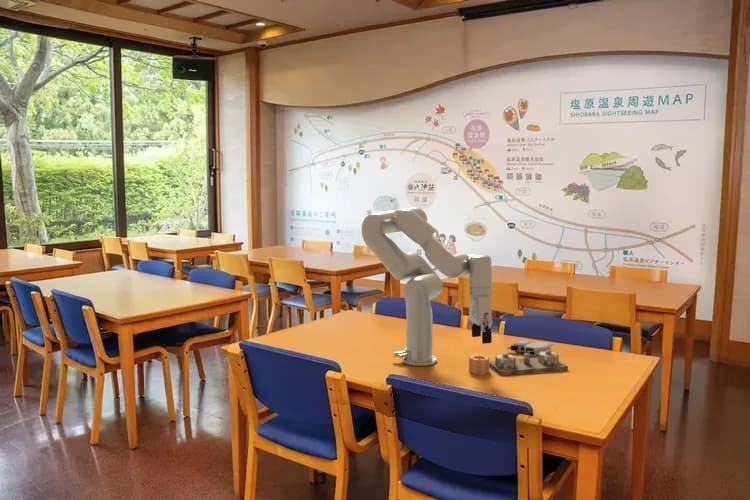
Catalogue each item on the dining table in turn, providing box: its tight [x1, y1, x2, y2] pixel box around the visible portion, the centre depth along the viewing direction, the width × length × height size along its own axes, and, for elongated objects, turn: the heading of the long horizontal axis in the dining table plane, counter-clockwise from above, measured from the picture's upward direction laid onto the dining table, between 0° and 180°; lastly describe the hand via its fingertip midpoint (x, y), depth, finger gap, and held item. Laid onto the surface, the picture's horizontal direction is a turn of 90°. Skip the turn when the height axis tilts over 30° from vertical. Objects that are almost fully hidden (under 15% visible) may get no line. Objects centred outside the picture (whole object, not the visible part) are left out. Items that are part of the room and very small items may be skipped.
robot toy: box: [506, 340, 555, 358], centre depth 236 cm, size 12×4×15 cm
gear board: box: [489, 350, 569, 376], centre depth 218 cm, size 25×12×6 cm, turn 102°
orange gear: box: [468, 354, 490, 376], centre depth 214 cm, size 7×7×5 cm
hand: (481, 339), depth 213 cm, fingers open, 9 cm apart
